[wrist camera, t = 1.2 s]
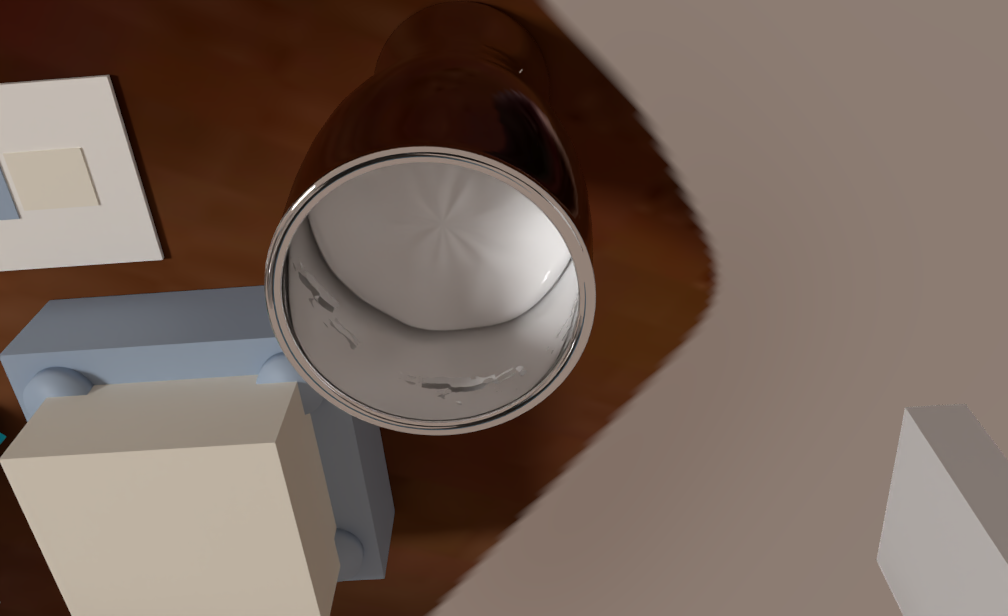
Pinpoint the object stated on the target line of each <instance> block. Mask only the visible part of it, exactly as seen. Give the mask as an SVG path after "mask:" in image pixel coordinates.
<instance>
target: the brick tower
mask: <svg viewBox="0 0 1008 616" xmlns="http://www.w3.org/2000/svg"><path fill="white" fill-rule="evenodd" d="M0 360H1V362H2V365H3V367H4V369H5V371H6V374H7V376H8V378H9V381H10V383H11V385H12V388H13V390H14V392H15V394H16V397H17V399H18V401H19V404H20V406H21V408H22V411H23V413H24V415H25V418H26V420H27V424H26V425H25V426H24V428H23V429H22V430H21V431H20V433H19V434H18V435H17V437H16V438H15V439H14V440H13V442H12V443H11V444H10V446H9V447H8V448H7V449H6V451H5V452H4V453H3V455H2V456H1V457H0V463H1V466H2V468H3V470H4V472H5V474H6V476H7V478H8V481H9V483H10V485H11V487H12V489H13V491H14V493H15V496H16V498H17V500H18V502H19V504H20V506H21V508H22V511H23V513H24V515H25V517H26V519H27V521H28V523H29V526H30V528H31V530H32V532H33V534H34V536H35V538H36V541H37V543H38V545H39V547H40V549H41V551H42V553H43V556H44V558H45V560H46V562H47V564H48V566H49V568H50V571H51V573H52V575H53V577H54V579H55V581H56V583H57V586H58V588H59V590H60V592H61V594H62V596H63V598H64V601H65V603H66V605H67V607H68V609H69V611H70V613H71V616H330V612H331V607H332V603H333V598H334V593H335V589H336V584H337V582H341V581H351V580H369V579H385V573H386V566H387V560H388V553H389V547H390V540H391V534H392V527H393V521H394V514H395V509H394V504H393V498H392V493H391V487H390V482H389V477H388V471H387V466H386V460H385V455H384V450H383V444H382V439H381V433H380V428H379V426H376V425H374V424H371V423H368V422H366V421H363V420H361V419H359V418H356V417H354V416H352V415H350V414H348V413H347V412H345V411H343V410H341V409H340V408H338V407H336V406H335V405H333V404H332V403H330V402H329V401H328V400H326V399H325V398H324V397H322V396H321V395H320V394H319V393H317V392H316V391H315V390H314V389H313V388H312V387H311V386H310V385H309V384H308V383H307V382H306V381H305V380H304V379H303V378H302V377H301V376H300V375H299V374H298V373H297V371H296V370H295V369H294V368H293V366H292V365H291V364H290V362H289V361H288V359H287V358H286V356H285V355H284V353H283V351H282V349H281V348H280V346H279V344H278V342H277V340H276V337H275V335H274V333H273V330H272V327H271V324H270V321H269V317H268V314H267V309H266V303H265V294H264V286H251V287H237V288H222V289H207V290H193V291H178V292H164V293H149V294H135V295H120V296H105V297H91V298H76V299H62V300H50V301H49V302H48V303H47V304H46V305H45V306H44V307H43V308H42V309H41V310H40V311H39V313H38V314H37V315H36V316H35V317H34V318H33V319H32V320H31V321H30V322H29V323H28V324H27V326H26V327H25V328H24V329H23V330H22V331H21V332H20V333H19V334H18V335H17V336H16V337H15V339H14V340H13V341H12V342H11V343H10V344H9V345H8V346H7V347H6V348H5V349H4V350H3V352H2V353H1V354H0Z"/></svg>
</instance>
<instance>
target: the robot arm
mask: <svg viewBox="0 0 1008 616" xmlns="http://www.w3.org/2000/svg"><path fill="white" fill-rule="evenodd" d="M877 562H878V564H879V567H880V569H881V571H882V573H883V575H884V577H885V579H886V581H887V583H888V585H889V587H890V589H891V591H892V594H893V596H894V598H895V600H896V602H897V604H898V606H899V608H900V610H901V612H902V614H903V616H1008V459H1007V458H1006V457H1005V456H1004V454H1003V453H1002V452H1001V450H1000V449H999V448H998V446H997V445H996V444H995V442H994V441H993V440H992V438H991V437H990V436H989V434H988V433H987V432H986V430H985V429H984V428H983V426H982V425H981V424H980V422H979V421H978V420H977V418H976V417H975V416H974V414H973V413H972V412H971V410H970V409H969V408H968V406H967V405H966V404H956V405H955V404H954V405H936V406H918V407H905V411H904V417H903V422H902V428H901V433H900V439H899V443H898V449H897V454H896V459H895V464H894V470H893V475H892V480H891V486H890V491H889V497H888V502H887V507H886V513H885V518H884V523H883V529H882V534H881V540H880V544H879V550H878V556H877ZM0 603H1V602H0Z"/></svg>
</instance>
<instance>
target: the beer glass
mask: <svg viewBox="0 0 1008 616" xmlns="http://www.w3.org/2000/svg"><path fill="white" fill-rule="evenodd" d="M264 294H265V303H266V309H267V314H268V317H269V321H270V324H271V327H272V330H273V333H274V335H275V337H276V340H277V342H278V344H279V346H280V348H281V349H282V351H283V353H284V355H285V356H286V358H287V359H288V361H289V362H290V364H291V365H292V366H293V368H294V369H295V370H296V371H297V373H298V374H299V375H300V376H301V377H302V378H303V379H304V380H305V381H306V382H307V383H308V384H309V385H310V386H311V387H312V388H313V389H314V390H315V391H316V392H317V393H319V394H320V395H321V396H322V397H324V398H325V399H326V400H328V401H329V402H330V403H332V404H333V405H335V406H336V407H338V408H340V409H341V410H343V411H345V412H347V413H348V414H350V415H352V416H354V417H356V418H359V419H361V420H363V421H366V422H368V423H371V424H374V425H376V426H380V427H383V428H386V429H390V430H394V431H399V432H404V433H411V434H419V435H454V434H463V433H469V432H474V431H479V430H483V429H486V428H490V427H493V426H496V425H499V424H502V423H504V422H506V421H509V420H511V419H513V418H515V417H517V416H519V415H521V414H523V413H525V412H526V411H528V410H530V409H531V408H533V407H534V406H536V405H537V404H539V403H540V402H541V401H543V400H544V399H545V398H547V397H548V396H549V395H550V394H551V393H552V392H553V391H554V390H555V389H556V388H557V387H558V386H559V385H560V384H561V383H562V382H563V381H564V380H565V379H566V377H567V376H568V375H569V373H570V372H571V371H572V369H573V368H574V366H575V365H576V363H577V362H578V360H579V358H580V356H581V354H582V352H583V350H584V348H585V346H586V343H587V341H588V338H589V335H590V332H591V328H592V324H593V320H594V314H595V304H596V287H595V277H594V272H593V236H592V220H591V213H590V205H589V198H588V191H587V187H586V182H585V179H584V175H583V172H582V169H581V165H580V162H579V159H578V156H577V153H576V150H575V147H574V145H573V143H572V140H571V138H570V136H569V134H568V133H567V131H566V129H565V127H564V126H563V124H562V123H561V121H560V119H559V118H558V116H557V115H556V113H555V111H554V110H553V108H552V107H551V106H550V79H549V73H548V69H547V66H546V63H545V60H544V57H543V55H542V53H541V51H540V49H539V47H538V45H537V44H536V42H535V41H534V39H533V38H532V36H531V35H530V34H529V33H528V32H527V30H526V29H525V28H524V27H523V26H522V25H520V24H519V23H518V22H517V21H516V20H514V19H513V18H511V17H510V16H508V15H507V14H505V13H503V12H501V11H499V10H497V9H495V8H492V7H490V6H487V5H484V4H480V3H475V2H469V1H451V2H444V3H439V4H435V5H432V6H429V7H427V8H424V9H422V10H420V11H418V12H416V13H415V14H413V15H411V16H410V17H409V18H407V19H406V20H405V21H403V22H402V23H401V24H400V25H399V26H398V27H397V28H396V29H395V30H394V31H393V33H392V34H391V35H390V37H389V38H388V39H387V41H386V43H385V44H384V46H383V48H382V50H381V52H380V55H379V57H378V60H377V63H376V67H375V71H374V75H373V76H371V77H370V78H369V79H367V80H366V81H365V82H364V83H362V84H361V85H360V86H359V87H357V88H356V89H355V90H354V91H353V92H352V93H350V94H349V95H348V96H347V97H346V98H345V99H344V100H343V101H342V102H341V103H340V104H339V105H338V106H337V108H336V109H335V110H334V111H333V113H332V114H331V115H330V117H329V118H328V120H327V121H326V123H325V124H324V125H323V127H322V128H321V130H320V131H319V133H318V134H317V136H316V137H315V139H314V140H313V142H312V144H311V146H310V148H309V150H308V152H307V154H306V156H305V158H304V160H303V162H302V164H301V166H300V169H299V171H298V173H297V175H296V177H295V180H294V183H293V186H292V188H291V191H290V194H289V197H288V200H287V203H286V206H285V209H284V212H283V215H282V219H281V221H280V223H279V225H278V227H277V229H276V231H275V234H274V236H273V239H272V241H271V244H270V247H269V251H268V255H267V259H266V265H265V275H264Z"/></svg>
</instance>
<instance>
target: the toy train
mask: <svg viewBox="0 0 1008 616" xmlns="http://www.w3.org/2000/svg"><path fill="white" fill-rule="evenodd" d="M6 437H7V436H5V435H3V434H2V433H0V444H1V443H2V442H3V441H4V439H5V438H6Z"/></svg>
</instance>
